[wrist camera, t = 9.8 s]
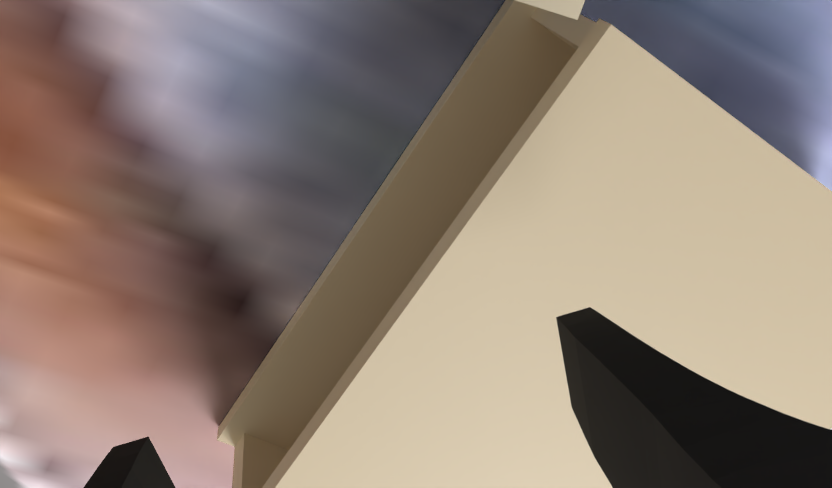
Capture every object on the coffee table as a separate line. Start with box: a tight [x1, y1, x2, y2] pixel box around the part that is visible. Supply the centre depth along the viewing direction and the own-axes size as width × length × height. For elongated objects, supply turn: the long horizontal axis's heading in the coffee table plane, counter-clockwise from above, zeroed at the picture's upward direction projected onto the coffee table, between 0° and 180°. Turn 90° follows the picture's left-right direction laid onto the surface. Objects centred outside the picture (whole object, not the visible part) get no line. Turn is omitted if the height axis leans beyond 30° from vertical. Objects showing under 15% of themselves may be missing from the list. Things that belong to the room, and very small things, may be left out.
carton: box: [217, 0, 832, 488], centre depth 22 cm, size 16×12×6 cm
